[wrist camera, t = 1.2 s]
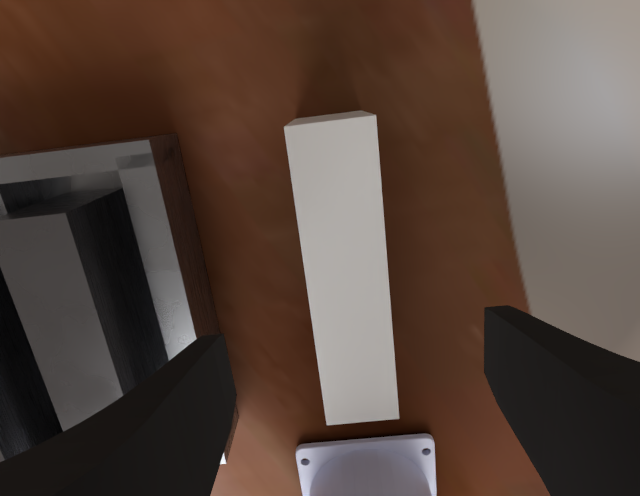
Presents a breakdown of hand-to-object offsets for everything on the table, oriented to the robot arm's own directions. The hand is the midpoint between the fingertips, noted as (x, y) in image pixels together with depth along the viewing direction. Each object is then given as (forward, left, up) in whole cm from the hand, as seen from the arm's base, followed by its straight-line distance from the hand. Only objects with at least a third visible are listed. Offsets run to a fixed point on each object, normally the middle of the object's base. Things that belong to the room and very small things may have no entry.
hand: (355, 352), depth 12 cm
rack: (-2, +17, -10) cm, 20 cm away
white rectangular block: (0, 0, -10) cm, 10 cm away
